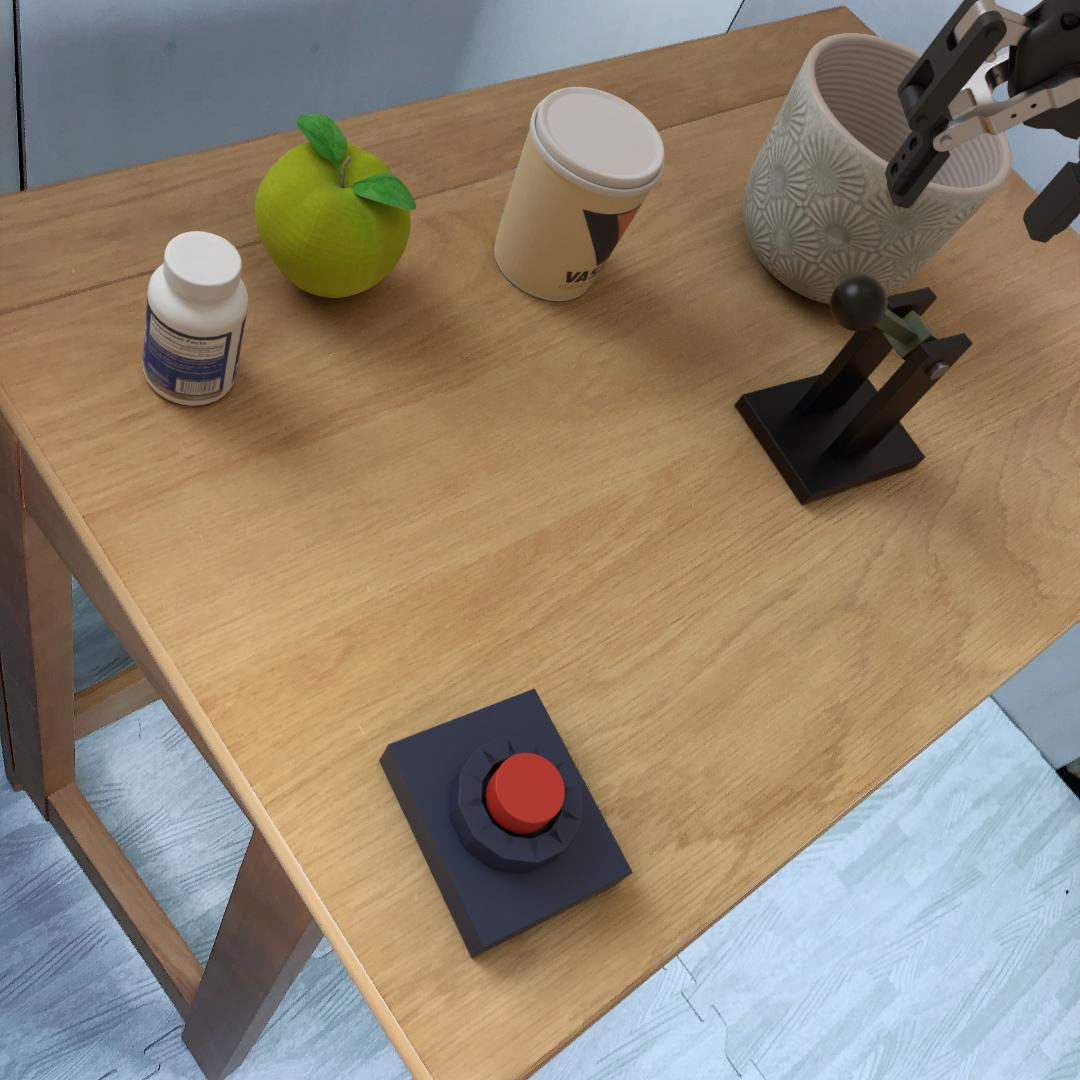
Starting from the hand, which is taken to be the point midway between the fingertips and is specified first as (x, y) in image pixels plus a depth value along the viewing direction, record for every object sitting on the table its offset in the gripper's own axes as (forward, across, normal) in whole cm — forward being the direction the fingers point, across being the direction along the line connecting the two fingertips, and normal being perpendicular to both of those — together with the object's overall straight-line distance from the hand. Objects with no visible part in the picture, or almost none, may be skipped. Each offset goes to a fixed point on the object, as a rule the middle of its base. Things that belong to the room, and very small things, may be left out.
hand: (965, 213), depth 60 cm
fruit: (+25, -30, +12) cm, 41 cm away
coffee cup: (+25, -14, +17) cm, 33 cm away
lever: (+12, +3, +3) cm, 13 cm away
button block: (+25, -19, -25) cm, 40 cm away
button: (+21, -19, -25) cm, 38 cm away
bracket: (+25, +8, +5) cm, 27 cm away
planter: (+25, +10, +24) cm, 36 cm away
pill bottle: (+25, -37, +2) cm, 45 cm away
